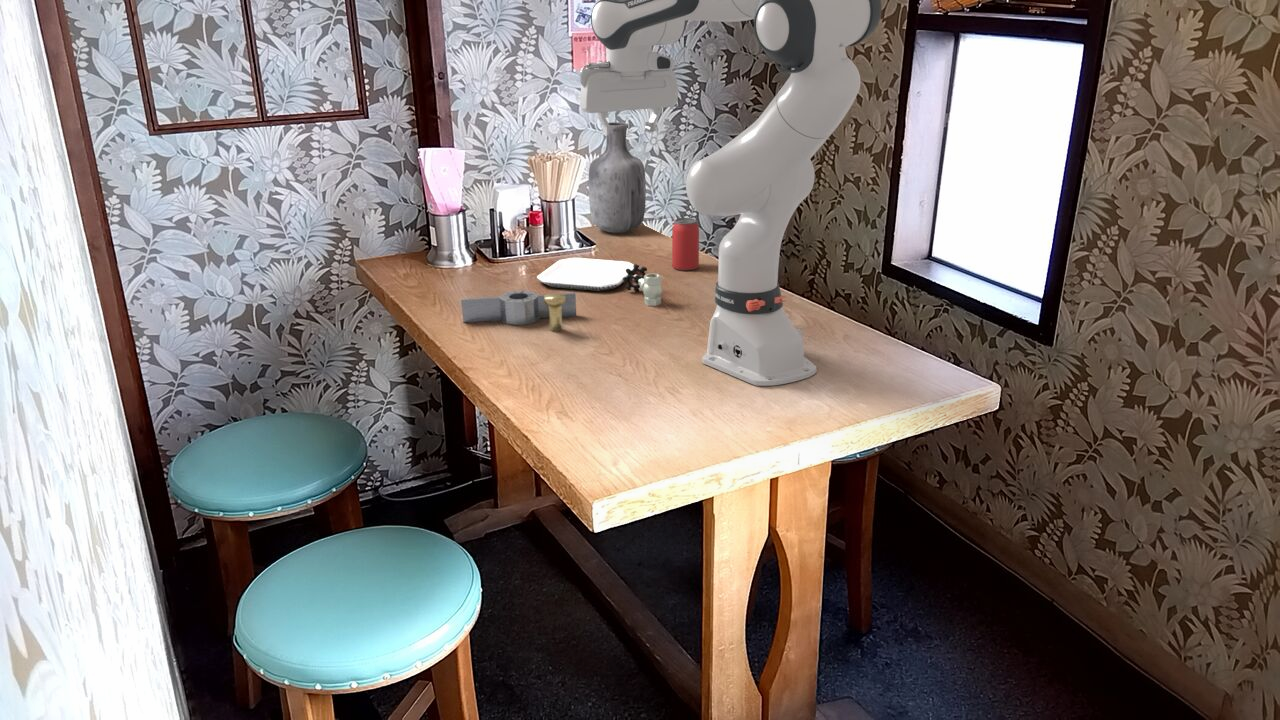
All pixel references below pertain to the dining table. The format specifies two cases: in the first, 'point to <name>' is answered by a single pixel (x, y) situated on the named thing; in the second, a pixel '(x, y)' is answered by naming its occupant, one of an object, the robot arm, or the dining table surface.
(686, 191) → the robot arm
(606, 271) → the plate
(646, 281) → the valve
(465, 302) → the hinge
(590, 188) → the vase
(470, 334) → the dining table surface
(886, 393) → the dining table surface
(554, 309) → the hinge pin
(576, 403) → the dining table surface
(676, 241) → the beer can
